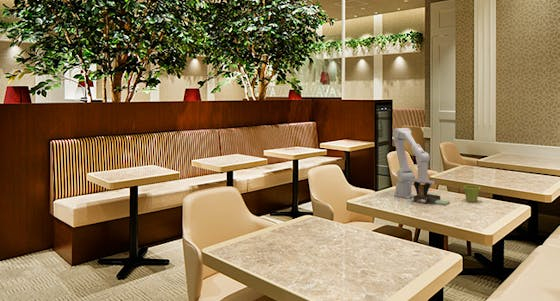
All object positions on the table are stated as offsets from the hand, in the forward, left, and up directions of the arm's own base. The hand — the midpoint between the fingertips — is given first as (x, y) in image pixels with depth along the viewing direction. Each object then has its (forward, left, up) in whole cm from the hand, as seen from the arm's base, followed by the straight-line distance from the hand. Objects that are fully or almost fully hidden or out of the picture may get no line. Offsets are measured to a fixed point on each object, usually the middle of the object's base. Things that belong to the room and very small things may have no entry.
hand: (421, 195), depth 259 cm
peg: (0, 0, -2) cm, 2 cm away
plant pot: (+22, +21, -5) cm, 31 cm away
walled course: (+2, +3, -4) cm, 6 cm away
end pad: (+11, +4, -4) cm, 12 cm away
